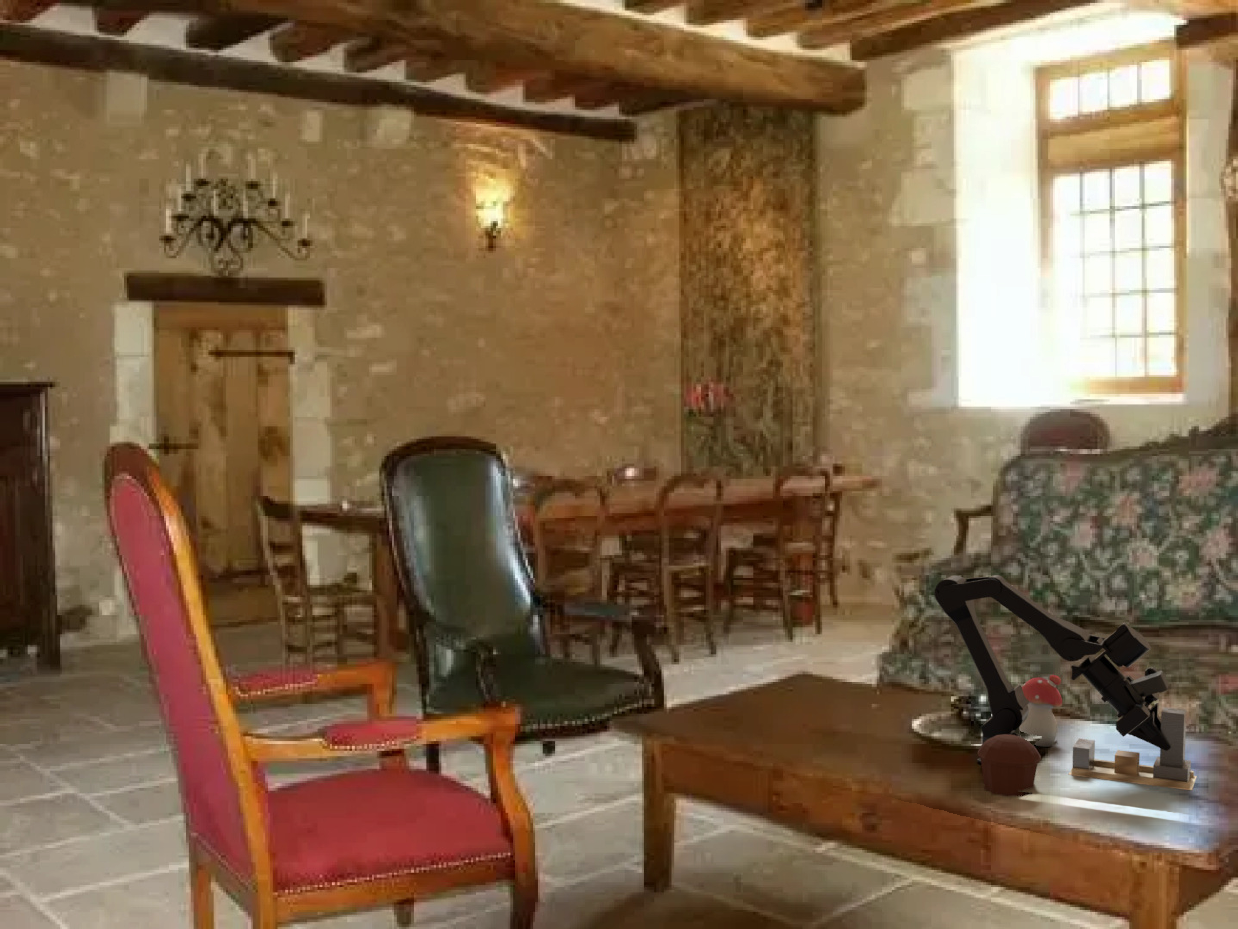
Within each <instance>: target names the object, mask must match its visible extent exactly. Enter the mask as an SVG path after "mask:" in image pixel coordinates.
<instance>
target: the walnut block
mask: <svg viewBox="0 0 1238 929" xmlns="http://www.w3.org/2000/svg"><path fill="white" fill-rule="evenodd" d="M1114 761H1115V767H1114V773H1119V774H1127V775H1135V776H1138V774H1139V765H1140V752H1135V751H1129V750H1128V751H1127V750H1121V749H1117V750H1116V752H1115V755H1114Z"/></svg>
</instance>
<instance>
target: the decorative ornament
mask: <svg viewBox="0 0 1238 929" xmlns="http://www.w3.org/2000/svg"><path fill="white" fill-rule="evenodd" d="M1061 684H1062V679H1061V677H1059V676H1058V675H1056V674H1050V676H1049V678H1048V679H1047V678H1043V677H1032V678H1030V679H1029V680H1027V681H1026V682H1025V683H1024V684H1022V685H1021V687H1022V690H1023V693H1024V696H1025V697H1026V699H1027V700H1028V701H1029V702H1030V703H1029V704H1028V708H1029V713H1028V716H1027V719H1026V720H1025V721H1024V722H1023V723H1022V724H1021V725H1020V727H1019V728H1018V729H1019V732H1020V731H1021V732H1024V733H1027V734H1031V735H1032V734H1033V735H1037V736H1042V739H1040V740H1039V741H1037V742H1036V743H1035V745H1036V746H1035V747H1053V745H1054V744H1055V740H1056V737H1057V735H1058V734H1057V733H1058V723H1057V720H1056V717H1055V715H1054V713H1053V710H1052V709H1053V708H1060V707H1062V706H1063V698H1062V696H1061V693H1060V691H1059V689H1057V686H1059V685H1061Z"/></svg>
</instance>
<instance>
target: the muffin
mask: <svg viewBox="0 0 1238 929" xmlns="http://www.w3.org/2000/svg"><path fill="white" fill-rule="evenodd" d="M977 755H978V757H979V759H981V763H980V764H981V772H982V778H983V786H984V790H986V791H988V792H990V793H992V794H994V795H1000V796H1003V797H1004V796H1005V797H1025V796H1028V795H1032V794H1033V792H1029V791H1026V790H1028V789H1033V788H1034V783H1035V780H1036V775H1037V774H1036V773H1037V767H1038V764H1039V763H1040V762H1041V759H1042V756H1041V754H1040V753H1039V751H1038V749H1037V748H1036V746H1034V745H1032V744H1031V743H1030V742H1029V741H1027V740H1025V739H1024V738H1022V737H1021V736H1019V735H1018V736H1015V735H1009V734H1003V735H996V736H994V737H992V738H990V739H988V740H986V741H985V742H984V743H983V742H982V744H981V745H980V747H979V748H978V750H977Z"/></svg>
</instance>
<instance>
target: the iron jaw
mask: <svg viewBox="0 0 1238 929" xmlns="http://www.w3.org/2000/svg"><path fill="white" fill-rule="evenodd" d="M1095 742H1096V740H1095V739H1085V738H1078V739H1077V740H1076V742H1075V743H1074V744H1073V747H1072V768H1079V769H1087V770H1092V768H1093V767H1094V759H1095V753H1096V752H1095V749H1096V748H1095V746H1096V745H1095V744H1096V743H1095Z"/></svg>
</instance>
